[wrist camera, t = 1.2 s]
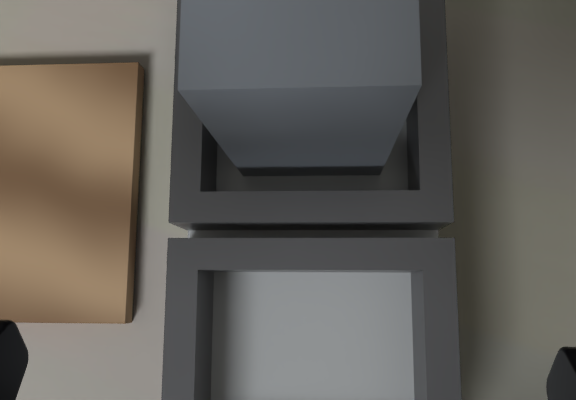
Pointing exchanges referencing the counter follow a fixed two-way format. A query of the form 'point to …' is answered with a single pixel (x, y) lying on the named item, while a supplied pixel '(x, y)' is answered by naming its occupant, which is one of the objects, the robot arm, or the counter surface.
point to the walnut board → (69, 191)
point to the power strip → (316, 265)
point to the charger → (301, 81)
